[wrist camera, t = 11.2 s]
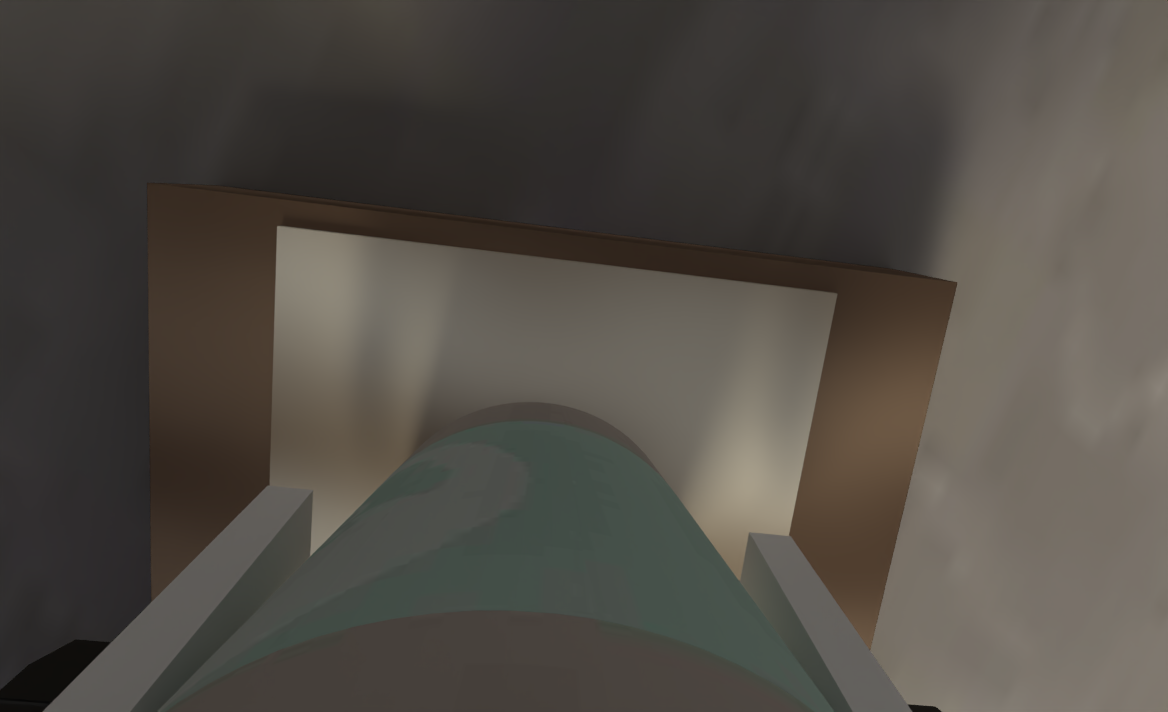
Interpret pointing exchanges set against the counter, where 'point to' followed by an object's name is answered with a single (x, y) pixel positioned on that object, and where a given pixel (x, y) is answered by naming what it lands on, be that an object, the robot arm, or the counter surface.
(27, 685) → the robot arm
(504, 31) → the counter surface
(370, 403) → the walnut plinth
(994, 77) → the counter surface
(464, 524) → the coffee cup
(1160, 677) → the counter surface
